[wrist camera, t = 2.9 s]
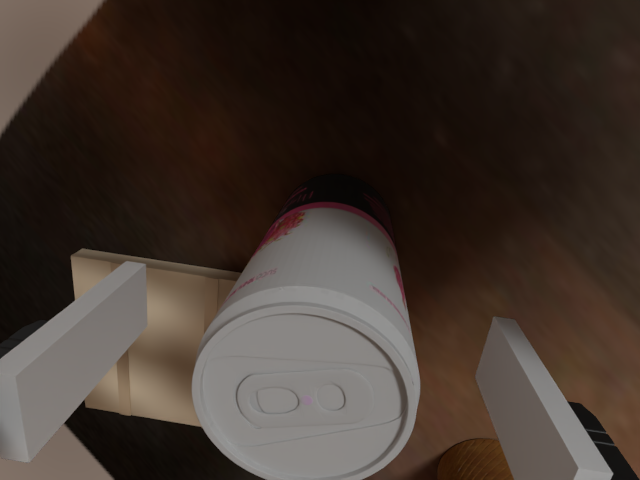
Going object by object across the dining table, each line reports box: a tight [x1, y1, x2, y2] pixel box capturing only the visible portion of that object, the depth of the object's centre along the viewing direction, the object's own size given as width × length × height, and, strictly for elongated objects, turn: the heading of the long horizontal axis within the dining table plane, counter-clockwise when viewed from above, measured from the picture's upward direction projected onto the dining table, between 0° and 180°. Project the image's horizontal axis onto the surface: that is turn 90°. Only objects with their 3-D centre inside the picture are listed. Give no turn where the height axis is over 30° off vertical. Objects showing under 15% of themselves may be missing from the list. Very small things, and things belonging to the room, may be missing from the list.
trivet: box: [71, 249, 242, 428], centre depth 29 cm, size 12×12×1 cm
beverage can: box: [192, 174, 420, 480], centre depth 19 cm, size 7×7×15 cm
